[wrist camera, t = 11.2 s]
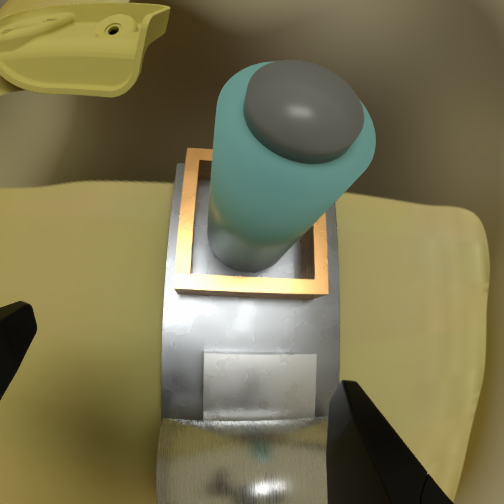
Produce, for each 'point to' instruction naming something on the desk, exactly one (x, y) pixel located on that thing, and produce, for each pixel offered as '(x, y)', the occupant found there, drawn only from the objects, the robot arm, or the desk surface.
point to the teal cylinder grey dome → (281, 158)
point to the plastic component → (79, 47)
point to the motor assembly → (245, 362)
